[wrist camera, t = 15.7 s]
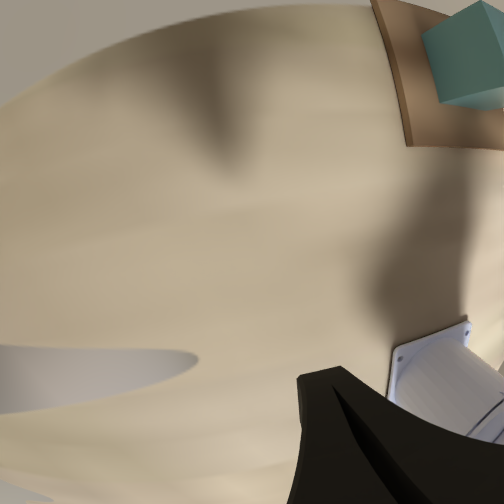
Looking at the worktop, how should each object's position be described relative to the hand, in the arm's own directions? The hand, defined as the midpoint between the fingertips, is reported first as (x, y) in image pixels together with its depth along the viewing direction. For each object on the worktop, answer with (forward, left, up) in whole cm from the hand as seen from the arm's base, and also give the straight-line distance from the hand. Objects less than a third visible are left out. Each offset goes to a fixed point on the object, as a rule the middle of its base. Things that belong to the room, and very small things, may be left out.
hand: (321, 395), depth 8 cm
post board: (+13, -15, -9) cm, 22 cm away
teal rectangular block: (+13, -15, -9) cm, 22 cm away
